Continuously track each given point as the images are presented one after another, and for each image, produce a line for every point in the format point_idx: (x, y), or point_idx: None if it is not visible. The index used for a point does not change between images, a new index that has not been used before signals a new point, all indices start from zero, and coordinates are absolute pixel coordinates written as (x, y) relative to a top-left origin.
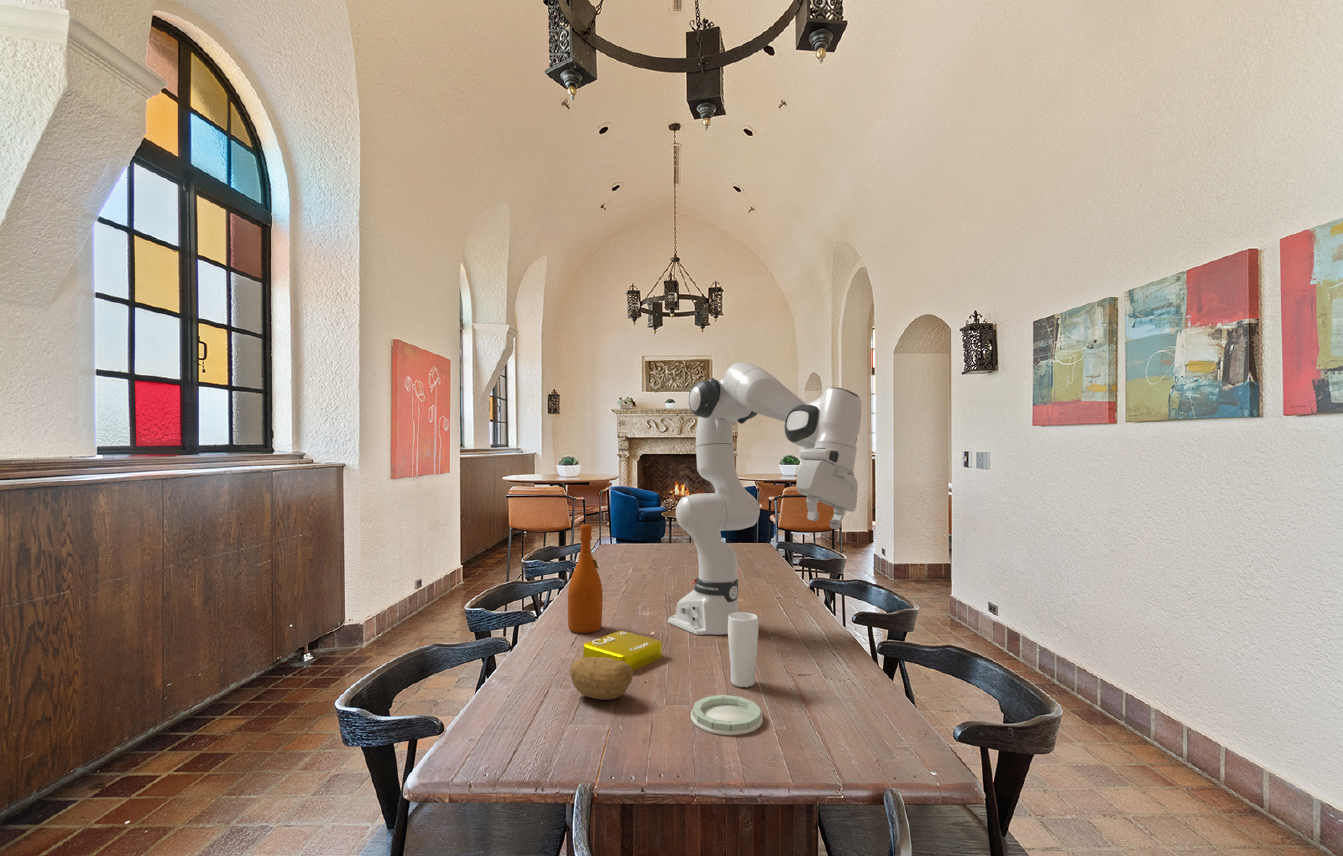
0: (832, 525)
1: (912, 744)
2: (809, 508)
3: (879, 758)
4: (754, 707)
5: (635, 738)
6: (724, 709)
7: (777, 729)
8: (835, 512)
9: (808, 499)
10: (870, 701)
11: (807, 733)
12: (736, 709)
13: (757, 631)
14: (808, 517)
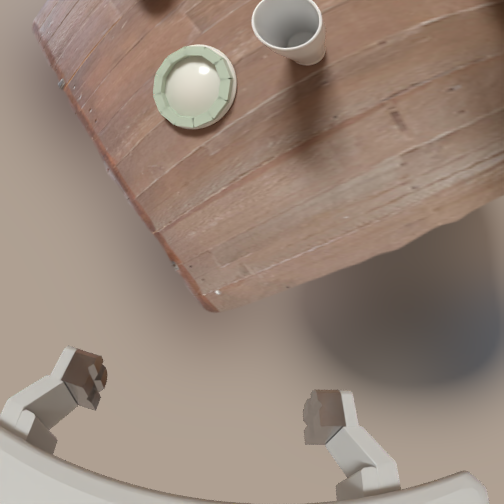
0: (312, 404)
1: (257, 277)
2: (42, 387)
3: (212, 252)
4: (212, 111)
5: (115, 51)
6: (204, 75)
7: (205, 147)
8: (358, 471)
9: (10, 414)
10: (346, 227)
11: (216, 179)
12: (212, 86)
13: (296, 56)
14: (67, 353)
